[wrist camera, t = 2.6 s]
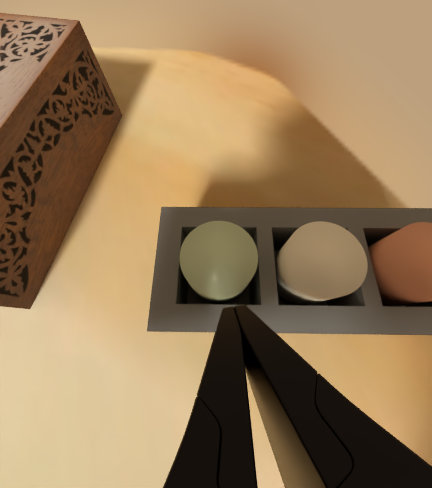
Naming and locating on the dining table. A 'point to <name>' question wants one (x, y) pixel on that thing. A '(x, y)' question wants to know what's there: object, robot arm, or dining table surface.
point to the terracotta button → (404, 265)
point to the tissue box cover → (45, 143)
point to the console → (264, 280)
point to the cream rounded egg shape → (319, 264)
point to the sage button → (218, 261)
